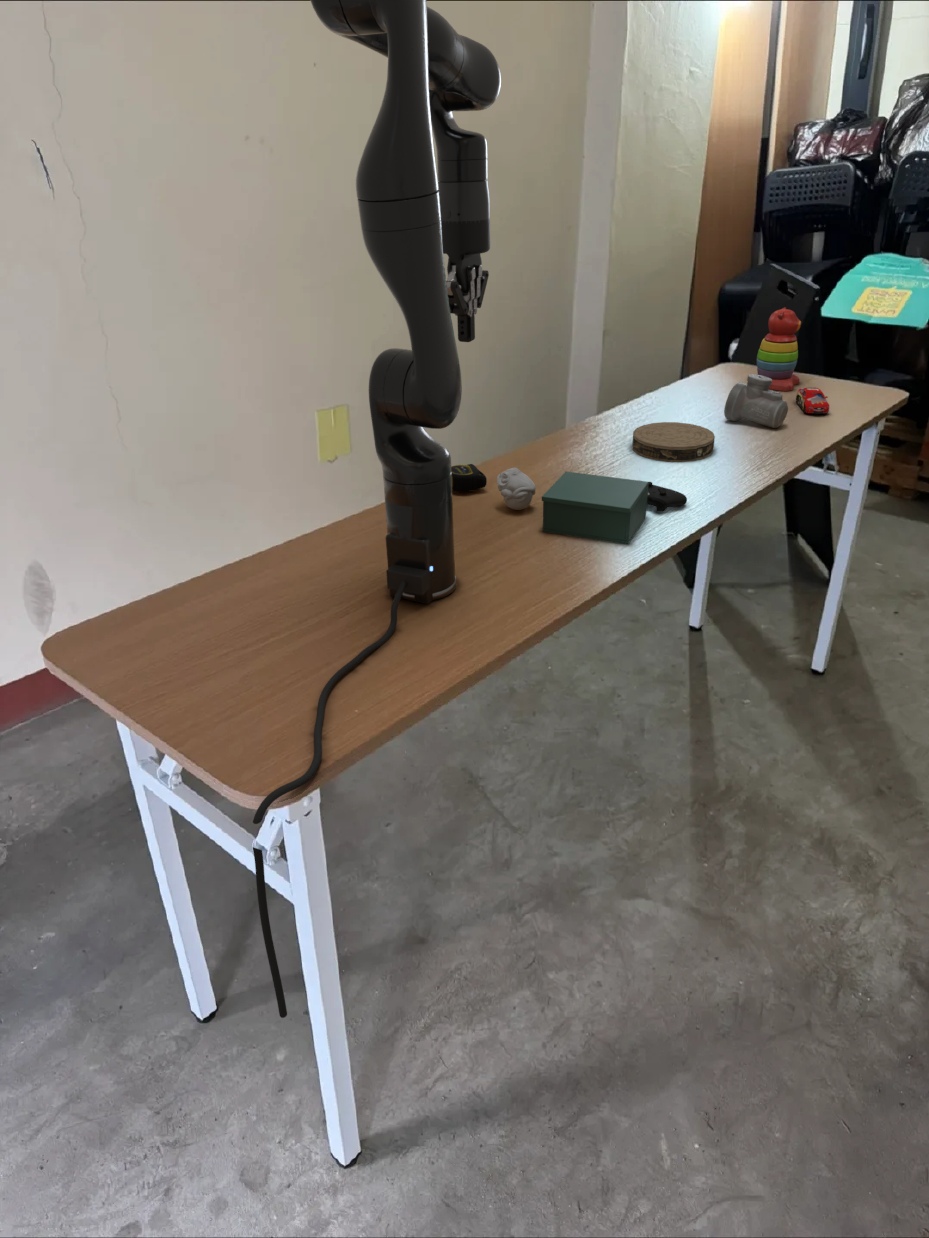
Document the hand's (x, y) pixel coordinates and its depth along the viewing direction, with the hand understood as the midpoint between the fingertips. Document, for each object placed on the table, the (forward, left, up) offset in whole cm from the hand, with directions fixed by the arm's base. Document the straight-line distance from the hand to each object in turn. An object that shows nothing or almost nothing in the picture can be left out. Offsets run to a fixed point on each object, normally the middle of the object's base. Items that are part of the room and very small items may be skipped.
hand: (466, 340), depth 132 cm
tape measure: (+12, +6, -29) cm, 32 cm away
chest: (+4, -20, -29) cm, 36 cm away
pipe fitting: (+68, -37, -29) cm, 83 cm away
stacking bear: (+102, -37, -29) cm, 112 cm away
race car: (+84, -47, -29) cm, 101 cm away
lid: (+4, -21, -23) cm, 31 cm away
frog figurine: (+6, -6, -29) cm, 30 cm away
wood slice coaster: (+46, -24, -29) cm, 60 cm away
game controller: (+16, -28, -29) cm, 43 cm away
